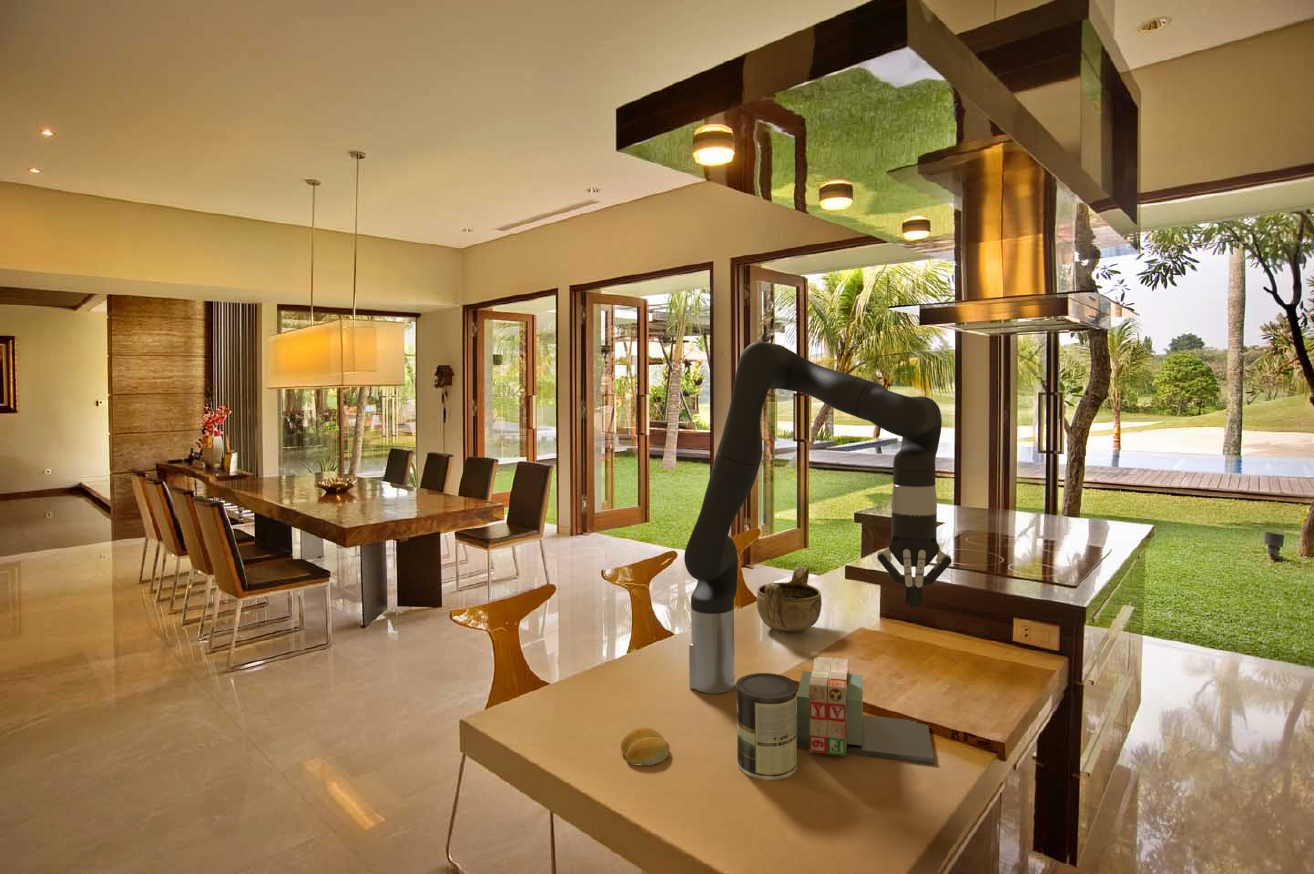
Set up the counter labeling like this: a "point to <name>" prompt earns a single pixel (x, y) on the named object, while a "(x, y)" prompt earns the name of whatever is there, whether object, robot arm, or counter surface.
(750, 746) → the coffee can
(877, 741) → the vise
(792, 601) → the ceramic bowl
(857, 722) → the sliding jaw
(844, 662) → the stack of blocks
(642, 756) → the bread roll
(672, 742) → the counter surface
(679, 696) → the counter surface
